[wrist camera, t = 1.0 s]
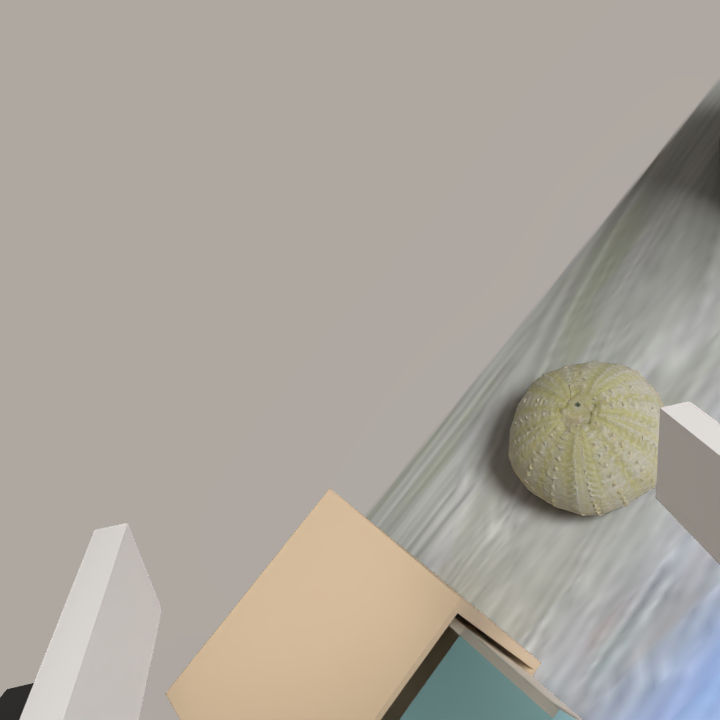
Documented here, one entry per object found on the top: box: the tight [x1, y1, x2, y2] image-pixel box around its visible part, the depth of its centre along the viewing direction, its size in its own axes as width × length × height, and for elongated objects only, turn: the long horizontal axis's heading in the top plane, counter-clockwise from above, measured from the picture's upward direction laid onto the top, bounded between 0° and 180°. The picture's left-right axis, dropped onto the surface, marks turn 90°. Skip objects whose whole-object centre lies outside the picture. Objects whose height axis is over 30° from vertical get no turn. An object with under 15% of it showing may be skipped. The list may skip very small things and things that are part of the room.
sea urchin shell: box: [508, 361, 664, 516], centre depth 36 cm, size 9×8×8 cm
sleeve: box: [166, 489, 541, 720], centre depth 29 cm, size 8×11×13 cm
